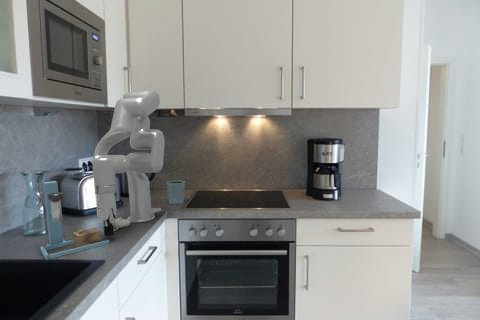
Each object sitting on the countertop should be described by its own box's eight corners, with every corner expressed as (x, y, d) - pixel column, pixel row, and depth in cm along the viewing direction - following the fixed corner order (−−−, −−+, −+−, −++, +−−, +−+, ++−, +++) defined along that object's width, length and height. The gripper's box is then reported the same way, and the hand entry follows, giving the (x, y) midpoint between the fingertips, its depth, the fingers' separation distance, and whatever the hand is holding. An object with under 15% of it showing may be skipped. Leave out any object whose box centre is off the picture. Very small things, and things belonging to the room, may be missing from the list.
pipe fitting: (131, 225, 142) (115, 225, 142) (131, 217, 142) (115, 217, 141) (125, 231, 134) (109, 231, 134) (125, 222, 134) (109, 222, 133)
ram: (63, 217, 116) (60, 191, 115) (66, 220, 112) (63, 193, 111) (49, 220, 113) (46, 194, 112) (51, 223, 109) (48, 195, 108)
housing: (96, 239, 124) (94, 224, 124) (101, 243, 120) (100, 227, 119) (74, 245, 119) (72, 229, 118) (79, 249, 114) (77, 233, 114)
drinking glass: (167, 201, 184) (165, 181, 183) (184, 199, 187) (183, 179, 186) (168, 205, 174) (167, 184, 173) (187, 203, 177) (186, 182, 176)
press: (97, 233, 131) (92, 176, 128) (109, 243, 119) (104, 180, 116) (38, 247, 118) (31, 183, 115) (45, 259, 106) (37, 189, 103)
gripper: (89, 188, 125) (93, 233, 127) (101, 193, 114) (105, 242, 116) (109, 185, 130) (112, 228, 132) (122, 190, 119) (125, 237, 121)
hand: (109, 235), depth 124 cm, fingers closed
